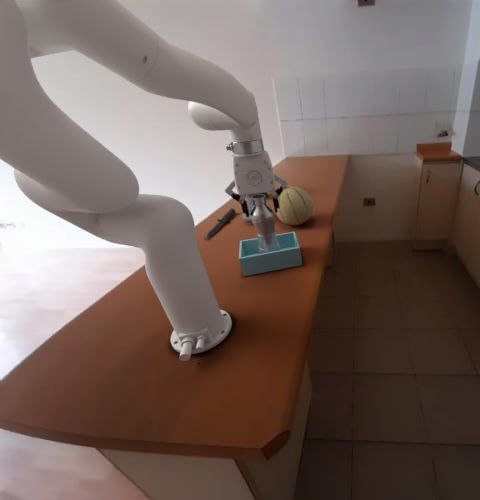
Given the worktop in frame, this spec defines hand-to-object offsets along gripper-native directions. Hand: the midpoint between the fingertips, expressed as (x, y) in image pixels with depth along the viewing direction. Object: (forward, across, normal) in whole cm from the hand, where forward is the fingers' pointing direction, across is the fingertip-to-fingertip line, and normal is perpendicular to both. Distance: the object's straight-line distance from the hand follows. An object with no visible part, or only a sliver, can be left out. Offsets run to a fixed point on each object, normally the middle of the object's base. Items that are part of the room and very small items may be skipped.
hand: (262, 212), depth 78 cm
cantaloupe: (+16, +11, +25) cm, 32 cm away
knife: (+16, -18, +35) cm, 43 cm away
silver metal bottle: (+15, 0, 0) cm, 15 cm away
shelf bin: (+16, 0, 0) cm, 16 cm away
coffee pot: (+16, -2, +39) cm, 42 cm away
